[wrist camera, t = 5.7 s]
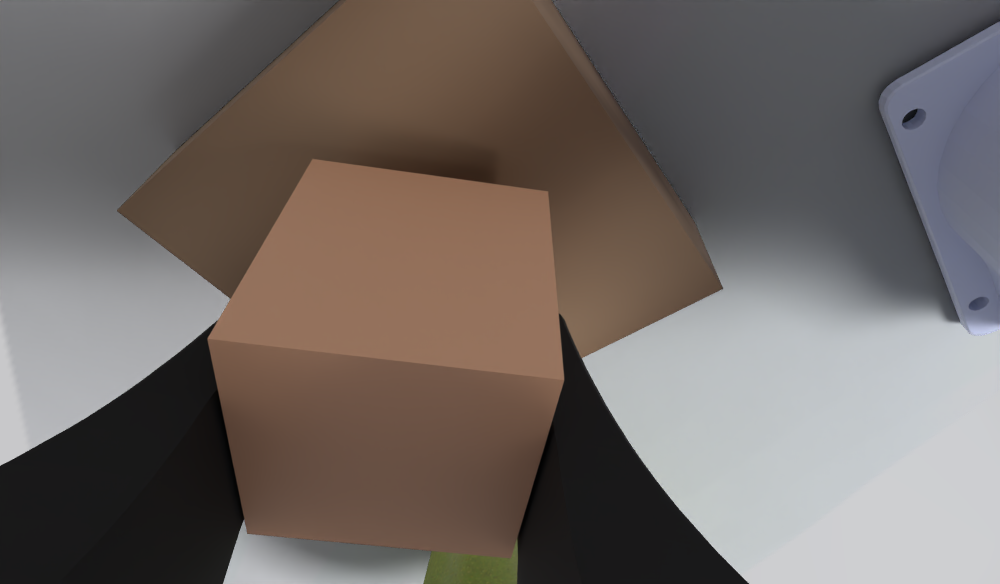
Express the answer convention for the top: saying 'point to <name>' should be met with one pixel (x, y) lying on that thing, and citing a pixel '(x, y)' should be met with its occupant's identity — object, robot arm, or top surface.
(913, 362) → the top surface
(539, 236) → the terracotta block
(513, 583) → the plant pot
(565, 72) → the walnut plinth
